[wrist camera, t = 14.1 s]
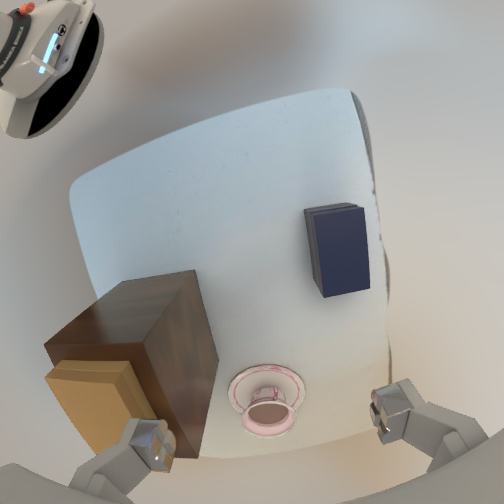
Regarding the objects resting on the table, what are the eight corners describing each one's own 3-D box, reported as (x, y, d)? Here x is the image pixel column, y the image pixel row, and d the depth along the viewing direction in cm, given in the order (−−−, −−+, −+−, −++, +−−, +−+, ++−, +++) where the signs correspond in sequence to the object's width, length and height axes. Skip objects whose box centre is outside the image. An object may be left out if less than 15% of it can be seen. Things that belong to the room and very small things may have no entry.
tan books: (62, 359, 19) (44, 377, 16) (129, 360, 18) (113, 383, 15) (112, 443, 21) (102, 462, 18) (176, 450, 21) (169, 473, 18)
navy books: (303, 209, 33) (309, 212, 30) (346, 202, 33) (357, 204, 29) (313, 279, 35) (319, 290, 32) (353, 271, 35) (364, 281, 31)
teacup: (293, 420, 41) (297, 447, 35) (223, 412, 41) (219, 439, 35) (314, 368, 39) (321, 395, 33) (233, 358, 38) (230, 384, 32)
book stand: (121, 281, 36) (43, 344, 19) (194, 269, 35) (142, 342, 18) (151, 365, 39) (106, 449, 22) (219, 360, 39) (198, 458, 21)
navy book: (310, 213, 30) (313, 215, 28) (357, 206, 29) (363, 207, 27) (319, 291, 32) (323, 298, 30) (364, 282, 31) (370, 288, 29)
